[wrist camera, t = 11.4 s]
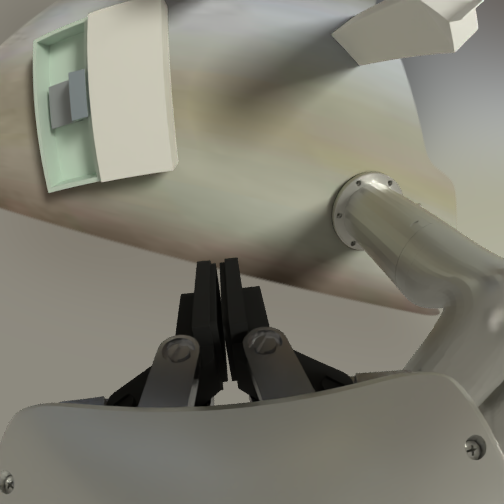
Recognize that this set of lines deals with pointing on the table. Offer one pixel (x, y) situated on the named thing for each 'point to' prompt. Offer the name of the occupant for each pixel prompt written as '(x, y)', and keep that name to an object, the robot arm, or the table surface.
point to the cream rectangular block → (131, 89)
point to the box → (50, 140)
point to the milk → (408, 29)
